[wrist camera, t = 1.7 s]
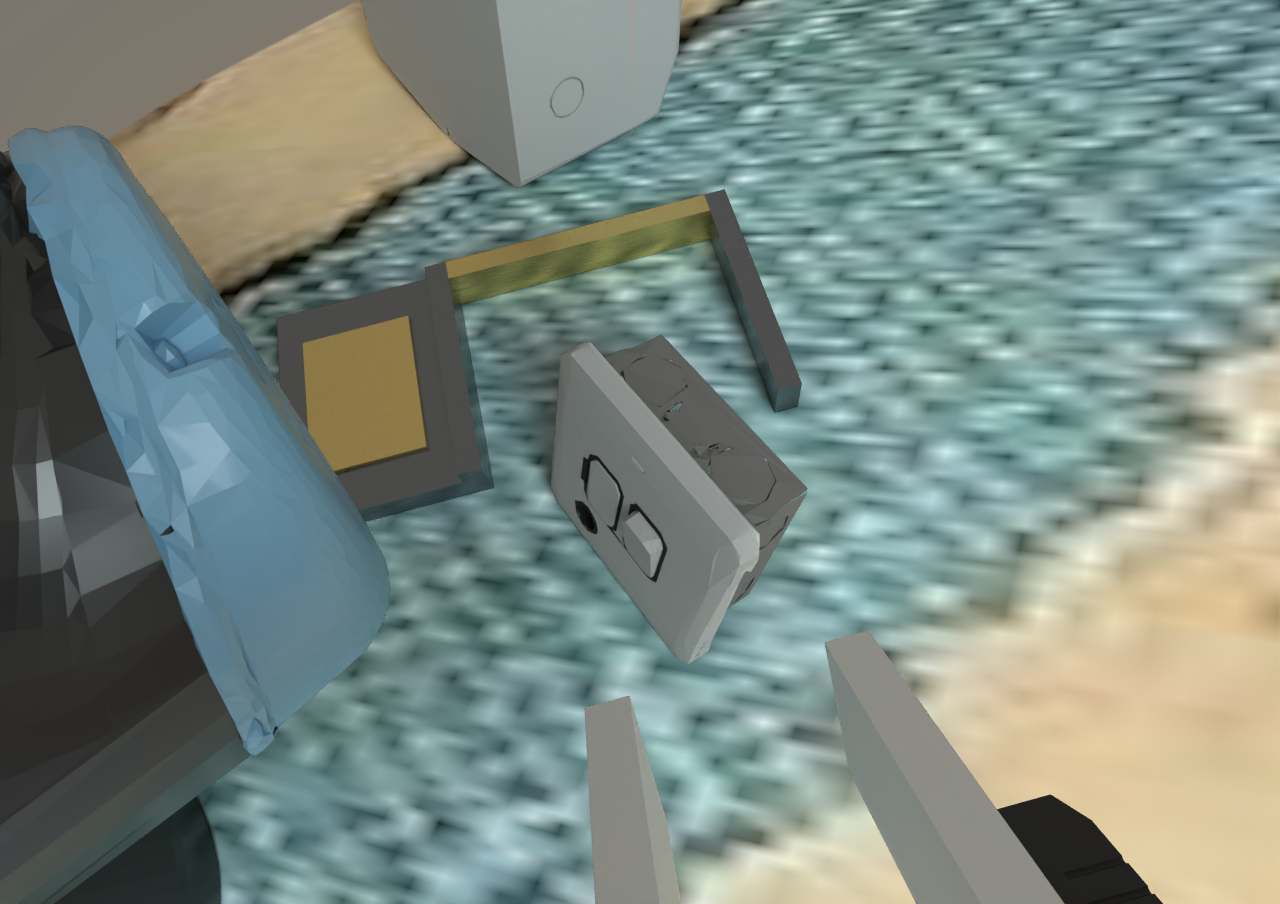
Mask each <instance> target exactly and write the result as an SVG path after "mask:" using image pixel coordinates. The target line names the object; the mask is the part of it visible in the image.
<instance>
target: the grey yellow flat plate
mask: <svg viewBox="0 0 1280 904" xmlns="http://www.w3.org/2000/svg"><path fill="white" fill-rule="evenodd" d="M710 239H711V242H712V244H713V247H714V250H715V252H716V255H717V258H718V260H719V263H720V266H721V268H722V271H723V274H724V276H725V279H726V282H727V284H728V287H729V290H730V293H731V295H732V298H733V301H734V303H735V306H736V309H737V311H738V314H739V317H740V319H741V322H742V325H743V327H744V330H745V333H746V336H747V338H748V341H749V344H750V346H751V349H752V352H753V354H754V357H755V360H756V362H757V365H758V368H759V370H760V373H761V376H762V378H763V381H764V384H765V387H766V389H767V392H768V395H769V397H770V400H771V403H772V405H773V408H774V411H775V413H776V412H780V411H784V410H788V409H791V408H795V407H798V402H799V396H800V390H801V385H802V383H801V380H800V378H799V375H798V373H797V370H796V368H795V365H794V363H793V360H792V358H791V355H790V353H789V350H788V348H787V345H786V343H785V340H784V338H783V335H782V332H781V330H780V327H779V325H778V322H777V320H776V317H775V315H774V312H773V310H772V307H771V305H770V302H769V300H768V297H767V295H766V292H765V290H764V287H763V285H762V282H761V280H760V277H759V275H758V272H757V270H756V267H755V265H754V262H753V260H752V257H751V255H750V252H749V249H748V247H747V244H746V242H745V239H744V237H743V234H742V232H741V229H740V227H739V224H738V222H737V219H736V217H735V214H734V212H733V209H732V207H731V204H730V202H729V199H728V197H727V194H726V192H725V189H724V190H720V191H716V192H713V193H709V194H705V195H701V196H697V197H693V198H690V199H686V200H682V201H678V202H674V203H670V204H666V205H663V206H659V207H655V208H651V209H647V210H643V211H640V212H636V213H632V214H628V215H624V216H620V217H616V218H613V219H609V220H605V221H601V222H597V223H593V224H590V225H586V226H582V227H578V228H574V229H570V230H567V231H563V232H559V233H555V234H551V235H547V236H543V237H540V238H536V239H532V240H528V241H524V242H520V243H517V244H513V245H509V246H505V247H501V248H497V249H493V250H490V251H486V252H482V253H478V254H474V255H470V256H467V257H463V258H459V259H455V260H451V261H447V262H444V263H440V264H436V265H432V266H428V267H425V272H426V278H427V279H425V280H421V281H418V282H414V283H410V284H406V285H402V286H398V287H395V288H391V289H387V290H383V291H379V292H375V293H372V294H368V295H364V296H360V297H356V298H352V299H348V300H345V301H341V302H337V303H333V304H329V305H325V306H322V307H318V308H314V309H310V310H306V311H302V312H299V313H295V314H291V315H287V316H283V317H279V318H277V332H278V354H279V376H280V388H281V389H282V391H283V392H284V394H285V395H286V397H287V398H288V400H289V402H290V403H291V405H292V406H293V408H294V409H295V411H296V412H297V414H298V415H299V417H300V419H301V420H302V422H303V423H304V425H305V426H306V428H307V429H308V431H309V433H310V434H311V436H312V437H313V439H314V440H315V442H316V444H317V445H318V447H319V448H320V450H321V452H322V453H323V455H324V456H325V458H326V459H327V461H328V463H329V464H330V466H331V467H332V469H333V471H334V472H335V474H336V475H337V477H338V479H339V480H340V482H341V483H342V485H343V487H344V488H345V490H346V491H347V493H348V495H349V496H350V498H351V500H352V501H353V503H354V505H355V506H356V508H357V510H358V511H359V513H360V515H361V516H362V518H363V520H364V521H365V522H366V521H370V520H374V519H378V518H381V517H385V516H389V515H393V514H397V513H400V512H404V511H408V510H412V509H415V508H419V507H423V506H427V505H430V504H434V503H438V502H442V501H445V500H449V499H453V498H457V497H460V496H464V495H468V494H472V493H475V492H479V491H483V490H487V489H491V488H494V484H493V479H492V473H491V467H490V462H489V456H488V450H487V445H486V439H485V434H484V428H483V422H482V417H481V411H480V405H479V400H478V394H477V389H476V383H475V377H474V372H473V366H472V360H471V355H470V349H469V344H468V338H467V332H466V327H465V321H464V315H463V310H462V304H465V303H469V302H472V301H476V300H480V299H484V298H488V297H492V296H495V295H499V294H503V293H507V292H511V291H514V290H518V289H522V288H526V287H530V286H534V285H537V284H541V283H545V282H549V281H553V280H557V279H560V278H564V277H568V276H572V275H576V274H580V273H583V272H587V271H591V270H595V269H599V268H602V267H606V266H610V265H614V264H618V263H622V262H625V261H629V260H633V259H637V258H641V257H645V256H648V255H652V254H656V253H660V252H664V251H668V250H671V249H675V248H679V247H683V246H687V245H691V244H694V243H698V242H702V241H706V240H710Z"/></svg>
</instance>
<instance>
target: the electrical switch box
mask: <svg viewBox="0 0 1280 904" xmlns="http://www.w3.org/2000/svg"><path fill="white" fill-rule="evenodd" d="M361 2H362V6H363V9H364V13H365V17H366V20H367V24H368V27H369V31H370V34H371V38H372V41H373V44H374V46H375V49H376V51H377V53H378V54H379V56H380V57H381V59H382V60H383V61H384V62H385V63H386V65H387V66H388V67H389V68H390V69H391V71H392V72H393V73H394V74H395V75H396V76H397V78H398V79H399V80H400V81H401V82H402V84H403V85H404V86H405V87H406V88H407V90H408V91H409V92H410V93H411V94H412V95H413V97H414V98H415V99H416V100H417V101H418V103H419V104H420V105H421V106H422V107H423V108H424V110H425V111H426V112H427V113H428V114H429V116H430V117H431V118H432V119H433V120H434V122H435V123H436V124H437V125H438V126H439V127H440V129H441V130H442V131H443V132H444V133H445V135H448V134H450V139H451V140H452V141H453V142H455V143H456V144H457V145H459V146H460V147H461V148H463V149H464V150H466V151H467V152H468V153H470V154H471V155H473V156H474V157H475V158H477V159H478V160H479V161H481V162H482V163H484V164H485V165H486V166H488V167H489V168H491V169H492V170H493V171H495V172H496V173H497V174H499V175H500V176H502V177H503V178H504V179H506V180H507V181H509V182H510V183H511V184H513V185H514V186H516V187H521V186H523V185H525V184H527V183H529V182H531V181H533V180H534V179H536V178H538V177H540V176H542V175H544V174H546V173H548V172H550V171H552V170H554V169H556V168H558V167H560V166H562V165H564V164H566V163H568V162H570V161H572V160H574V159H576V158H578V157H580V156H582V155H584V154H586V153H588V152H590V151H592V150H594V149H596V148H598V147H600V146H602V145H604V144H606V143H608V142H610V141H612V140H614V139H616V138H618V137H620V136H622V135H623V134H625V133H628V132H629V131H631V130H633V129H635V128H636V127H638V126H640V125H642V124H643V123H645V122H647V121H649V120H650V119H652V118H654V117H656V116H657V115H658V114H659V111H660V107H661V104H662V101H663V98H664V95H665V91H666V88H667V85H668V82H669V79H670V75H671V72H672V69H673V66H674V63H675V59H676V56H677V53H678V48H679V33H680V17H681V2H682V0H361Z"/></svg>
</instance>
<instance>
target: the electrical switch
mask: <svg viewBox="0 0 1280 904" xmlns="http://www.w3.org/2000/svg"><path fill="white" fill-rule="evenodd" d="M668 360H672V361H673V363H672V362H670V361H668ZM685 382H686V386H685ZM680 402H681V403H682V404H681V407H680V409H679V411H676V412H670V410H669V409H671V408H673V407H674V406H676V405H677V404H679V403H680ZM715 445H716V446H715ZM713 446H715V447H713ZM711 447H713V448H712V449H710V450H709V448H711ZM727 448H732V449H730V450H727V451H724V450H726V449H727ZM723 451H724V452H723ZM695 452H696V453H695ZM697 454H699V455H697ZM764 458H765V459H767V462H766V461H765V459H764ZM767 463H768V464H767ZM709 465H710V475H709V474H708V466H709ZM551 487H552V490H553V493H554V495H555V498H556V500H557V502H558V503H559V505H560V506H561V507H562V509H563V510H564V511H565V513H566V514H567V515H568V516H569V518H570V519H571V520H572V522H573V523H574V524H575V526H576V527H577V528H578V530H579V531H580V532H581V534H582V535H583V536H584V537H585V539H586V540H587V541H588V543H589V544H590V545H591V547H592V548H593V549H594V551H595V552H596V553H597V554H598V556H599V557H600V558H601V560H602V561H603V562H604V564H605V565H606V566H607V568H608V569H609V570H610V571H611V573H612V574H613V575H614V577H615V578H616V579H617V581H618V582H619V583H620V585H621V586H622V587H623V588H624V590H625V591H626V592H627V594H628V595H629V596H630V598H631V599H632V600H633V602H634V603H635V604H636V605H637V607H638V608H639V609H640V611H641V612H642V613H643V615H644V616H645V617H646V619H647V620H648V621H649V622H650V624H651V625H652V626H653V628H654V629H655V630H656V632H657V633H658V634H659V636H660V637H661V638H662V639H663V641H664V642H665V643H666V645H667V646H668V647H669V649H670V650H671V651H672V652H673V654H674V655H675V656H676V657H677V658H678V660H679V661H681V662H684V663H686V664H689V663H691V662H692V661H694V660H696V659H697V658H699V657H700V656H702V655H703V654H705V653H706V652H707V651H708V650H709V648H710V646H711V643H712V639H713V637H714V635H715V633H716V631H717V629H718V627H719V625H720V623H721V621H722V618H723V616H724V614H725V612H726V611H727V610H728V609H729V608H730V607H731V606H732V605H734V604H735V603H737V602H738V601H739V600H741V599H742V598H744V597H745V596H747V595H748V594H749V593H750V591H751V590H752V588H753V586H754V584H755V583H756V581H757V579H758V577H759V576H760V574H761V572H762V570H763V569H764V567H765V565H766V563H767V562H768V560H769V558H770V557H771V555H772V553H773V551H774V550H775V548H776V546H777V544H778V543H779V541H780V539H781V537H782V536H783V534H784V532H785V531H786V529H787V527H788V525H789V524H790V522H791V520H792V518H793V517H794V515H795V513H796V511H797V510H798V508H799V506H800V505H801V503H802V501H803V499H804V498H805V496H806V494H807V493H805V494H804V495H802V496H800V497H799V498H797V499H795V498H796V497H798V496H799V495H801V494H802V493H804V492H805V491H806V490H807V487H806V486H805V485H804V484H803V483H802V482H801V481H800V480H799V479H798V478H797V477H796V476H795V475H794V474H793V473H792V472H791V471H790V470H789V468H788V467H787V466H786V465H785V464H784V463H783V462H782V461H781V460H780V459H779V458H778V457H777V456H776V455H775V454H774V453H773V452H772V451H771V449H770V448H769V447H768V446H767V445H766V444H765V443H764V442H763V441H762V440H761V439H760V438H759V437H758V436H757V435H756V434H755V433H754V432H753V430H752V429H751V428H750V427H749V426H748V425H747V424H746V423H745V422H744V421H743V420H742V419H741V418H740V417H739V416H738V415H737V414H736V413H735V412H734V410H733V409H732V408H731V407H730V406H729V405H728V404H727V403H726V402H725V401H724V400H723V399H722V398H721V397H720V396H719V395H718V394H717V393H716V391H715V390H714V389H713V388H712V387H711V386H710V385H709V384H708V383H707V382H706V381H705V380H704V379H703V378H702V377H701V376H700V375H699V374H698V372H697V371H696V370H695V369H694V368H693V367H692V366H691V365H690V364H689V363H688V362H687V361H686V360H685V359H684V358H683V357H682V356H681V355H680V353H679V352H678V351H677V350H676V349H675V348H674V347H673V346H672V345H671V344H670V343H669V342H668V341H667V340H666V339H665V338H664V337H663V336H662V334H661V335H659V336H657V337H655V338H653V339H651V340H649V341H647V342H645V343H643V344H641V345H639V346H636V347H634V348H631V349H625V350H620V351H618V352H615V353H613V354H611V355H609V356H607V357H603V356H602V355H601V353H600V352H599V351H598V350H597V349H596V348H595V347H594V346H593V344H592V343H591V342H585V343H581V344H579V345H577V346H576V347H574V348H572V349H571V350H569V351H567V352H565V353H564V354H562V355H561V357H560V370H559V383H558V396H557V409H556V423H555V436H554V449H553V462H552V475H551ZM773 487H774V488H773ZM772 489H773V490H772ZM771 491H772V492H771ZM770 493H771V494H770ZM793 499H795V500H794V501H792V500H793ZM790 501H792V502H790ZM789 502H790V503H789ZM787 503H788V504H787ZM739 504H748V505H743V506H737V505H739ZM786 504H787V505H786ZM784 505H785V506H784ZM781 507H782V508H781Z"/></svg>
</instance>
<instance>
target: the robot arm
mask: <svg viewBox="0 0 1280 904" xmlns="http://www.w3.org/2000/svg"><path fill="white" fill-rule="evenodd" d="M8 147H9V151H6V152H4V153H2V152H0V904H220V883H219V874H218V866H217V860H216V855H215V850H214V846H213V842H212V838H211V835H210V832H209V829H208V826H207V823H206V821H205V818H204V816H203V814H202V812H201V809H200V807H199V805H198V804H197V802H196V800H195V797H196V796H197V795H199V794H200V793H201V792H203V791H204V790H205V789H207V788H208V787H209V786H211V785H212V784H213V783H215V782H216V781H217V780H219V779H220V778H221V777H223V776H224V775H225V774H227V773H228V772H229V771H231V770H232V769H233V768H235V767H236V766H237V765H239V764H240V763H241V762H242V761H244V760H245V759H246V758H248V757H249V756H250V755H252V756H256V755H257V754H258V753H260V752H261V751H262V750H264V749H265V748H267V746H268V745H269V744H270V743H272V742H273V740H274V738H275V736H276V734H277V728H278V727H279V726H280V725H282V724H283V723H284V722H285V721H286V720H287V719H288V718H290V717H291V716H292V715H293V714H294V713H295V712H296V711H298V710H299V709H300V708H301V707H302V706H303V705H304V704H306V703H307V702H308V701H309V700H310V699H311V698H312V697H313V696H315V695H316V694H317V693H318V692H319V691H320V690H321V689H323V688H324V687H325V686H326V685H327V684H328V683H329V682H331V681H332V680H333V679H334V678H335V677H336V676H337V675H339V674H340V673H341V672H342V671H343V670H344V669H345V668H347V667H348V666H349V665H350V664H351V663H352V662H353V661H355V660H356V659H357V658H358V657H359V656H360V655H361V654H363V653H364V652H365V651H366V650H367V648H368V647H369V645H370V644H371V643H372V641H373V640H374V638H375V637H376V636H377V634H378V633H377V631H378V629H379V627H380V625H381V624H382V622H383V620H384V618H385V616H386V612H387V608H388V604H389V602H388V596H389V589H390V584H389V574H388V569H387V564H386V562H385V559H384V557H383V554H382V552H381V550H380V548H379V547H378V545H377V543H376V541H375V539H374V537H373V535H372V534H371V532H370V530H369V528H368V527H367V525H366V523H365V521H364V520H363V518H362V516H361V515H360V513H359V511H358V510H357V508H356V506H355V505H354V503H353V501H352V500H351V498H350V496H349V495H348V493H347V491H346V490H345V488H344V487H343V485H342V483H341V482H340V480H339V479H338V477H337V475H336V474H335V472H334V471H333V469H332V467H331V466H330V464H329V463H328V461H327V459H326V458H325V456H324V455H323V453H322V452H321V450H320V448H319V447H318V445H317V444H316V442H315V440H314V439H313V437H312V436H311V434H310V433H309V431H308V429H307V428H306V426H305V425H304V423H303V422H302V420H301V419H300V417H299V415H298V414H297V412H296V411H295V409H294V408H293V406H292V405H291V403H290V402H289V400H288V398H287V397H286V395H285V394H284V392H283V391H282V389H281V388H280V386H279V385H278V383H277V382H276V380H275V379H274V377H273V376H272V374H271V373H270V371H269V370H268V368H267V367H266V365H265V364H264V362H263V361H262V359H261V358H260V356H259V355H258V353H257V352H256V350H255V349H254V347H253V345H252V344H251V342H250V341H249V339H248V338H247V336H246V335H245V333H244V332H243V330H242V329H241V327H240V326H239V324H238V322H237V321H236V319H235V318H234V316H233V315H232V313H231V312H230V310H229V309H228V307H227V306H226V304H225V303H224V301H223V300H222V298H221V297H220V295H219V294H218V292H217V291H216V289H215V288H214V286H213V285H212V284H211V282H210V281H209V279H208V278H207V276H206V275H205V273H204V272H203V270H202V269H201V267H200V266H199V264H198V263H197V262H196V260H195V259H194V257H193V256H192V254H191V253H190V251H189V250H188V248H187V247H186V245H185V244H184V243H183V241H182V240H181V238H180V237H179V235H178V234H177V232H176V231H175V229H174V228H173V226H172V225H171V224H170V222H169V221H168V220H167V218H166V217H165V215H164V214H163V213H162V211H161V210H160V209H159V207H158V206H157V205H156V203H155V202H154V201H153V199H152V198H151V196H149V195H148V193H147V192H146V191H145V189H144V188H143V186H142V185H141V184H140V183H139V182H138V180H137V179H136V177H135V176H134V174H133V173H132V171H131V170H130V168H129V167H128V165H127V164H126V163H125V161H124V159H123V157H122V156H121V154H120V153H119V152H118V151H117V149H116V148H115V147H114V146H113V145H112V144H111V143H110V142H109V141H108V140H107V139H106V138H105V137H103V136H102V135H101V134H100V133H97V132H95V131H93V130H91V129H89V128H86V127H83V126H66V127H62V128H58V129H54V130H51V131H47V132H45V131H42V130H39V129H36V128H26V129H24V130H22V131H21V132H19V133H18V134H16V135H14V136H13V137H11V138H10V139H9V140H8ZM825 647H826V652H827V658H828V663H829V668H830V673H831V678H832V684H833V689H834V694H835V699H836V704H837V710H838V715H839V720H840V725H841V731H842V736H843V741H844V746H845V751H846V757H847V762H848V767H849V772H850V774H851V776H852V778H853V780H854V782H855V784H856V786H857V788H858V790H859V792H860V794H861V796H862V798H863V800H864V802H865V804H866V806H867V808H868V810H869V811H870V813H871V815H872V817H873V819H874V821H875V823H876V825H877V827H878V829H879V831H880V833H881V835H882V837H883V839H884V841H885V843H886V845H887V847H888V849H889V851H890V853H891V855H892V857H893V859H894V861H895V863H896V865H897V867H898V869H899V871H900V873H901V875H902V876H903V878H904V880H905V882H906V884H907V886H908V888H909V890H910V892H911V894H912V896H913V898H914V900H915V902H916V904H1163V903H1162V902H1161V901H1160V900H1159V899H1158V897H1157V896H1156V895H1155V894H1151V892H1150V891H1149V889H1148V886H1147V885H1146V883H1145V882H1144V881H1143V880H1142V879H1141V877H1140V876H1139V875H1138V874H1137V873H1136V872H1135V870H1134V869H1133V868H1132V867H1131V866H1130V865H1129V863H1125V862H1124V860H1123V858H1122V855H1121V854H1120V853H1119V852H1118V851H1117V849H1116V848H1115V847H1114V846H1113V845H1112V844H1111V842H1110V841H1109V840H1108V839H1107V838H1106V837H1105V835H1104V834H1103V833H1102V832H1101V831H1100V830H1099V828H1098V827H1097V826H1096V825H1095V824H1094V823H1093V821H1092V820H1090V819H1089V818H1087V817H1086V816H1084V815H1082V814H1081V813H1079V812H1078V811H1076V810H1074V809H1073V808H1071V807H1070V806H1068V805H1067V804H1065V803H1063V802H1062V801H1060V800H1059V799H1057V798H1055V797H1054V796H1052V795H1047V796H1043V797H1040V798H1036V799H1033V800H1029V801H1025V802H1022V803H1018V804H1015V805H1011V806H1007V807H1004V808H1000V809H996V807H995V806H994V805H993V803H992V802H991V801H990V799H989V798H988V796H987V795H986V794H985V792H984V791H983V789H982V788H981V787H980V785H979V784H978V782H977V781H976V780H975V778H974V777H973V775H972V774H971V773H970V771H969V770H968V768H967V767H966V766H965V764H964V763H963V761H962V760H961V759H960V757H959V756H958V754H957V753H956V752H955V750H954V749H953V747H952V746H951V745H950V743H949V742H948V740H947V739H946V738H945V736H944V735H943V734H942V732H941V731H940V729H939V728H938V727H937V725H936V724H935V722H934V721H933V720H932V718H931V717H930V715H929V714H928V713H927V711H926V710H925V708H924V707H923V706H922V704H921V703H920V701H919V700H918V699H917V697H916V696H915V694H914V693H913V692H912V690H911V689H910V687H909V686H908V685H907V683H906V682H905V680H904V679H903V678H902V676H901V675H900V673H899V672H898V671H897V669H896V668H895V667H894V665H893V664H892V662H891V661H890V660H889V658H888V657H887V655H886V654H885V653H884V651H883V650H882V648H881V647H880V646H879V644H878V643H877V641H876V640H875V639H874V637H873V636H872V634H871V633H870V632H869V631H866V632H862V633H858V634H855V635H851V636H847V637H844V638H840V639H836V640H833V641H829V642H825ZM585 724H586V742H587V760H588V779H589V797H590V815H591V833H592V851H593V869H594V887H595V904H681V900H680V894H679V888H678V883H677V877H676V871H675V865H674V860H673V854H672V848H671V843H670V837H669V831H668V826H667V821H666V818H665V814H664V811H663V808H662V804H661V801H660V797H659V794H658V791H657V787H656V784H655V781H654V777H653V774H652V771H651V767H650V764H649V760H648V757H647V754H646V750H645V747H644V744H643V740H642V737H641V734H640V730H639V727H638V723H637V720H636V717H635V713H634V710H633V707H632V703H631V700H630V697H629V696H627V697H623V698H620V699H616V700H612V701H609V702H605V703H601V704H598V705H594V706H590V707H586V708H585Z"/></svg>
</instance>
